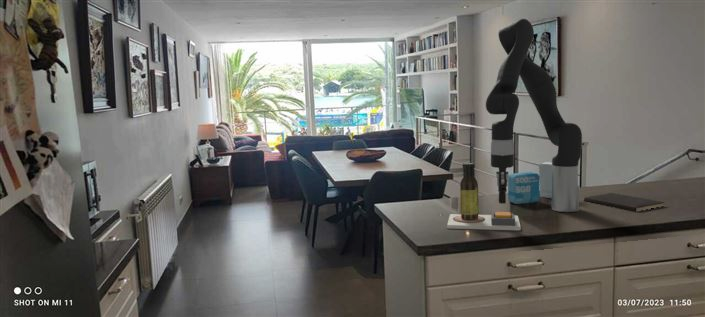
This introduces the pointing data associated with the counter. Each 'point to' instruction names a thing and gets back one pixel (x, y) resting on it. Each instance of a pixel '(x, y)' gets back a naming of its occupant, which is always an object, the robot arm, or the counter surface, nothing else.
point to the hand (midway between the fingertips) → (502, 203)
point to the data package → (523, 188)
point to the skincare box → (545, 179)
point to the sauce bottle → (469, 193)
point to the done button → (502, 215)
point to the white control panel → (484, 222)
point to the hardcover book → (623, 202)
